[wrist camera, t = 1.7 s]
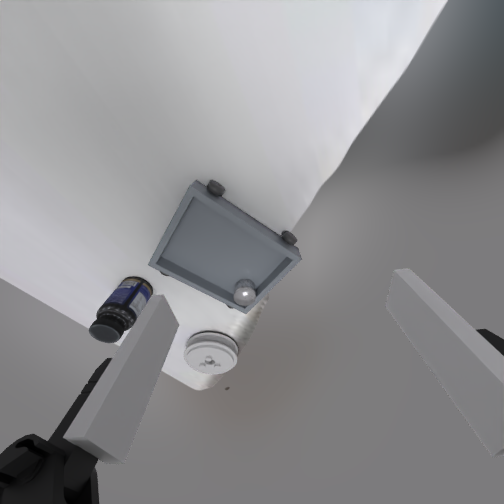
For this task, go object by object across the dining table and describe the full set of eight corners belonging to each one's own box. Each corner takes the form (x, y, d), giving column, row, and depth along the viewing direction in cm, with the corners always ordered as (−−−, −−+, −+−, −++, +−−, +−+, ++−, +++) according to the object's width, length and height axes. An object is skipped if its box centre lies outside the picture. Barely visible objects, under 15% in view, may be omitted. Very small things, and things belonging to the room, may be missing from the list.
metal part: (231, 288, 40) (229, 299, 37) (242, 275, 38) (241, 286, 35) (248, 297, 41) (247, 308, 38) (259, 285, 39) (260, 296, 37)
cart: (153, 259, 38) (144, 270, 35) (201, 171, 30) (194, 176, 27) (242, 305, 44) (241, 318, 41) (303, 242, 35) (308, 252, 32)
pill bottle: (118, 289, 42) (79, 336, 33) (128, 270, 40) (88, 315, 30) (147, 302, 44) (117, 350, 35) (158, 285, 41) (129, 332, 32)
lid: (238, 360, 55) (237, 379, 51) (192, 358, 55) (186, 378, 51) (237, 329, 48) (235, 349, 44) (184, 328, 49) (177, 347, 44)
